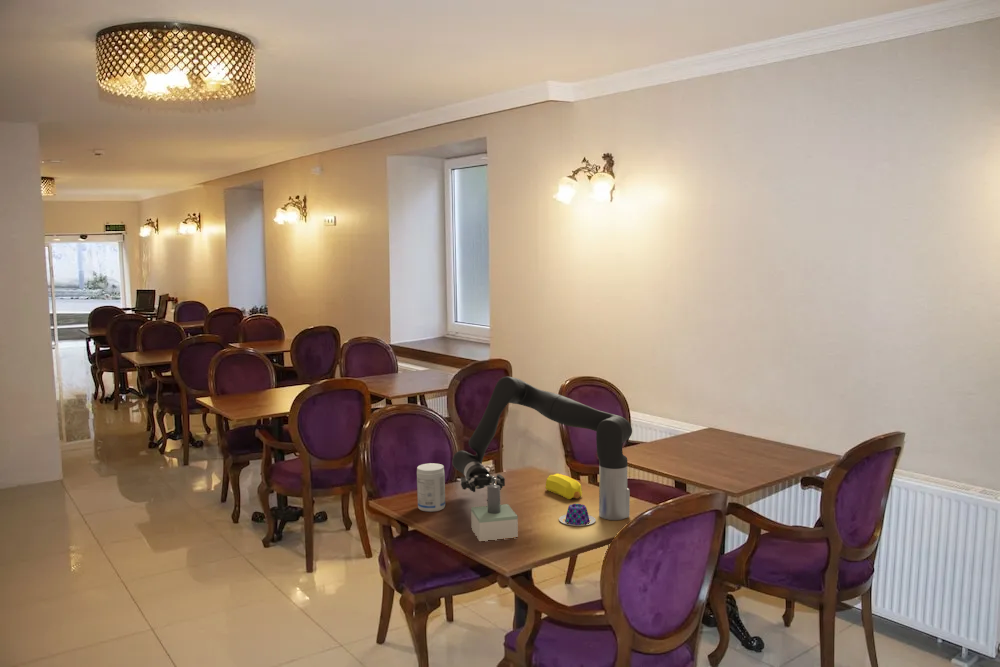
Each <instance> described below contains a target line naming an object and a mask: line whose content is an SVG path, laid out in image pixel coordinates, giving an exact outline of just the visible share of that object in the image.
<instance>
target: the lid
mask: <svg viewBox="0 0 1000 667" xmlns="http://www.w3.org/2000/svg"><path fill="white" fill-rule="evenodd" d="M486 488H487V490H486V491H487V492H486V493H487V495H486V496H487V505H484V506H472V507H470V508H471V510H470V511H472V512H473V514H474V515H475V517H476V518H477V520H478V521H479V523H483V522H493V521H504V520H514V519H518V520H519V516H518V515H517V513H516V512H515V511H514V510H513V509H512V507H511V506H510V505H509V503H505V504H501V490H500V486H499V485H489V486H486Z"/></svg>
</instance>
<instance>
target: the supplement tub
mask: <svg viewBox="0 0 1000 667" xmlns="http://www.w3.org/2000/svg"><path fill="white" fill-rule="evenodd" d="M445 479H446V478H445V466H444V465H443V464H440V463H433V462H432V463H431V462H429V463H422V464H419V465H418V466H417V467H416V487H417V488H416V489H417V490H416V494H417V508H418V509H419V510H420V511H421V512H422V511H423V512H429V513H432V512H433V513H434V512H439V511H441V510H444V508H445V507H446V484H445V483H446V481H445Z"/></svg>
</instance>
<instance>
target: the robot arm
mask: <svg viewBox="0 0 1000 667" xmlns="http://www.w3.org/2000/svg"><path fill="white" fill-rule="evenodd" d="M509 403H510V404H512V405H513V404H515V405H521V406H523V407H527V408H530V409H532V410H535V411H536V412H538V413H539V414H540V415H542V416H543V417H545V418H547V419H549V420H551V421H553V422H556V423H559V424H561V425H563V426H567V427H572V428H580V429H587V430H591V431H594V432H595V434H596V436H595V437H596V438H595V440H596V455H597V458H598V463H599V465H598V466H599V467H598V469H599V471H598V476H599V477H598V478H599V479H598V481H599V482H598V483H599V484H598V486H599V487H598V491H599V492H598V495H599V496H598V511H599V512H598V513H599V514H598V515H599V517H600V518H602V519H605V520H609V521H620V520H624V519H625V520H626V518H630V509H631V508H630V506H631V505H630V502H631V501H630V499H631V498H630V497H631V496H630V488H629V487H628V457H627V456H626V455H625V454H624V453H623V443H624V442H627V441H628V440H629V439H630V438H631V436H632V434H633V428H632V425H631V423H630V421H628V420H627V418H625V417H623V416H622V415H617V414H614V413H610V412H606V411H602V410H598V409H597V408H593V407H591V406H589V405H587V404H583V403H581V402H579V401H576V400H574V399H572V398H569V397H566V396H565V395H561V394H559V393H555V392H551V391H547V390H542V389H540V388H537V387H535V386H533V385H532V384H530V383H527V382H526V381H524V380H522V379H520V378H517V377H513V376H503V377H501V378H499V380H498V381H497V382H496V384H495V386H494V388H493V392H492V394H491V397H490V399H489V401H488V404H487V407H486V408H485V411H484V412H483V415H482V418H481V419H480V421H479V422H478V425H477V427H476V428H475V430H474V432H473V433H472V435H471V436H470V438H469V440H468V446H469V448H470V449H472V450H473V451H474V452H475V455H474V454H472V453H470V452H468V451H465V450H458V451H456V453H454V455H453V457H452V461H451V462H452V466H453V468H454V469H456V471H458V472H459V473H461V474H463V475H464V477H463V476H462V477H460V486H461V489H462V490H467V489H468V490H469V491H471V492H473V493H476V490H481V489H483V488H487V486H489V485H499V486H500V491H501V490H502V489H503V487H505V486H506V482H505V481H506V478H505V477H504V476H502V474H500V473H498V474H496V476H494V475H491V474H490V472H489V470H488V469H487V468H486V467H485V466H484V465H483V464H482V463H483V459H484V457H485V454H486V451H487V449H488V447H489V446H490V444H491V442H492V440H493V439H494V437H495V435H496V433H497V430H498V425H499V420H500V417H501V415H502V412H503V410H504V409H505V408H506V407H507V406H508V404H509Z"/></svg>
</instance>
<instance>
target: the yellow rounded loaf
mask: <svg viewBox="0 0 1000 667" xmlns="http://www.w3.org/2000/svg"><path fill="white" fill-rule="evenodd" d="M545 489H546V490H547V491H548V492H550V491H551V492H550V493H552V492H554V493H553V494H555V495H559V496H561V497H562V496H563V498H564V497H565V499H566V498H567V500H571V499H572V498H573V499H579V498H582V497H583V496H582V495H583V489H582V484H581V483H580V482H579V481H578V480H576V479H574V478H572V477H570V476H568V475H565V474H561V473H557V472H556V473H554V474H549V476H548V477H547V478H546V481H545Z"/></svg>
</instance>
